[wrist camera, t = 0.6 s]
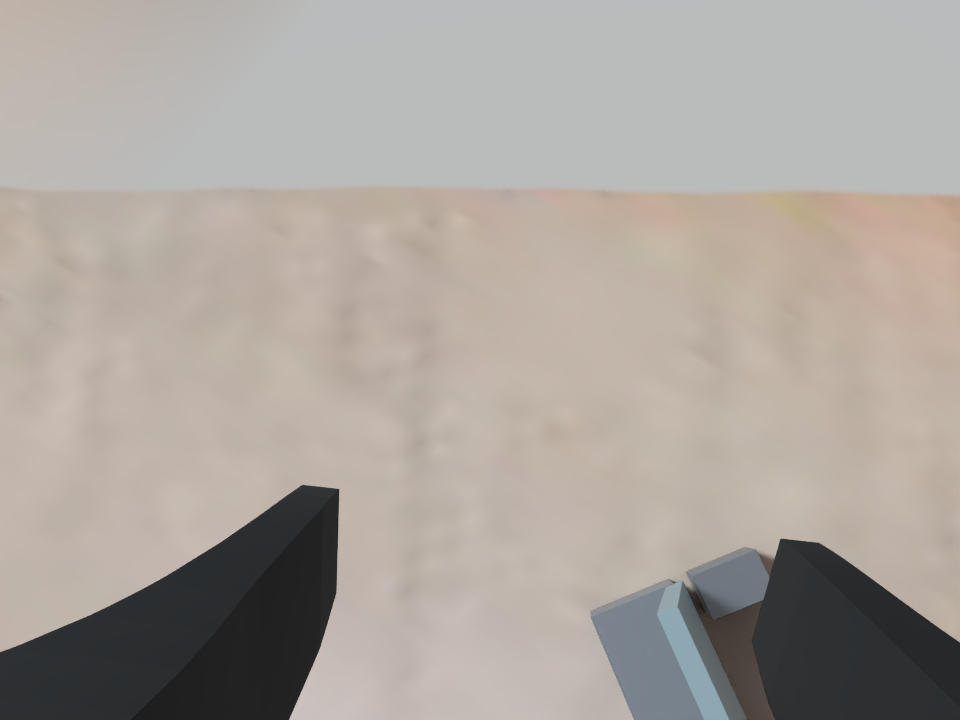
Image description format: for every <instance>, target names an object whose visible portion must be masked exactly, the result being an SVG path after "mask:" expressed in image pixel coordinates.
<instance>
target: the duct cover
mask: <svg viewBox="0 0 960 720" xmlns="http://www.w3.org/2000/svg"><path fill="white" fill-rule="evenodd" d="M657 616H658V618H659V620H660V622H661V625H662V627H663V629H664V631H665V633H666V636H667V638H668V640H669V642H670V645H671V647H672V649H673V651H674V654H675V656H676V658H677V660H678V662H679V665H680V667H681V669H682V671H683V674H684V676H685V678H686V680H687V683H688V685H689V687H690V689H691V691H692V694H693V696H694V698H695V700H696V703H697V705H698V707H699V709H700V711H701V714H702V716H703V718H704V720H747V718H746V716H745V714H744V712H743V709H742V707H741V705H740V703H739V701H738V699H737V697H736V694H735V692H734V690H733V688H732V686H731V684H730V681H729V679H728V677H727V675H726V673H725V671H724V669H723V666H722V664H721V662H720V660H719V658H718V656H717V653H716V651H715V649H714V647H713V645H712V643H711V641H710V638H709V636H708V634H707V632H706V630H705V628H704V625H703V623H702V621H701V619H700V617H699V615H698V612H697V610H696V608H695V606H694V604H693V602H692V600H691V597H690V595H689V593H688V591H687V589H686V587H685V584H684V582H683V580H682V581H680V582H677V583H674V584H672V585H669V586H667V587H666V588H665V591H664V594H663V597H662V600H661V603H660V606H659V609H658V612H657Z"/></svg>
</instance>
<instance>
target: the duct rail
mask: <svg viewBox="0 0 960 720" xmlns="http://www.w3.org/2000/svg"><path fill="white" fill-rule="evenodd" d="M686 573H687V575H688V577H689V579H690V582H691V584H692V586H693V588H694V590H695V592H696V594H697V597H698V599H699V601H700V603H701V605H702V607H703V609H704V612H705V613H706V614H707V615H708V616H709V617H710V618H712V619H713V620H715V619H718V618H720V617H723V616H725V615H727V614H730V613H732V612H735V611H737V610H740V609H742V608H745V607H747V606H749V605H752V604H754V603H757V602H759V601H762V600H763V599H764V596H765V592H766V589H767V585H768V582H769V578H770V577H769V575H768V573H767V571H766V569H765V567H764V565H763V563H762V561H761V559H760V557H759V555H758V553H757V551H756V549H751V548H746V547H744V548H742V549H740V550H737V551H735V552H732V553H730V554H728V555H725V556H723V557H720V558H718V559H716V560H713V561H711V562H708V563H706V564H704V565H701V566H699V567H696V568H694V569H691V570H689V571H687V572H686ZM672 584H674V583H673V582H671V581H670V580H669V579H667V580H665V581H663V582H660V583H658V584H655V585H653V586H650V587H648V588H646V589H643V590H641V591H638V592H636V593H634V594H631V595H629V596H626V597H624V598H622V599H619V600H617V601H614V602H612V603H610V604H607V605H605V606H602V607H600V608H597V609H595V610H593V611H591V619H592V621H593V624H594V626H595V628H596V631H597V633H598V635H599V638H600V640H601V643H602V645H603V647H604V650H605V652H606V654H607V657H608V659H609V661H610V664H611V666H612V668H613V671H614V673H615V676H616V678H617V680H618V683H619V685H620V687H621V690H622V692H623V694H624V697H625V699H626V702H627V704H628V706H629V709H630V711H631V713H632V716H633V718H634V720H704V718H703V716H702V714H701V711H700V709H699V707H698V705H697V703H696V700H695V698H694V696H693V694H692V691H691V689H690V687H689V685H688V683H687V680H686V678H685V676H684V674H683V671H682V669H681V667H680V665H679V662H678V660H677V658H676V656H675V654H674V651H673V649H672V647H671V645H670V642H669V640H668V638H667V636H666V633H665V631H664V629H663V627H662V625H661V622H660V620H659V618H658V616H657V612H658V609H659V606H660V603H661V600H662V597H663V594H664V591H665V588H666V587H667V586H669V585H672Z"/></svg>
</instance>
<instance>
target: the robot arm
mask: <svg viewBox="0 0 960 720" xmlns="http://www.w3.org/2000/svg"><path fill="white" fill-rule="evenodd" d="M338 513H339V489H334V488H325V487H316V486H307V485H302V486H300V487H299V488H297V489H296V490H294V491H293V492H291V493H290V494H289V495H287V496H286V497H285V498H283V499H282V500H280V501H279V502H278V503H276V504H275V505H273V506H272V507H271V508H269V509H268V510H267V511H265V512H264V513H262V514H261V515H260V516H258V517H257V518H255V519H254V520H252V521H251V522H250V523H248V524H247V525H245V526H244V527H242V528H241V529H239V530H238V531H237V532H235V533H234V534H232V535H231V536H229V537H228V538H226V539H225V540H224V541H222V542H221V543H219V544H217V545H216V546H214V547H213V548H211V549H209V550H208V551H206V552H205V553H203V554H201V555H200V556H198V557H197V558H195V559H193V560H192V561H190V562H188V563H187V564H185V565H184V566H182V567H180V568H179V569H177V570H176V571H174V572H172V573H171V574H169V575H167V576H166V577H164V578H162V579H160V580H159V581H157V582H155V583H153V584H151V585H149V586H148V587H146V588H144V589H142V590H140V591H138V592H136V593H134V594H132V595H130V596H128V597H126V598H124V599H122V600H120V601H119V602H117V603H115V604H113V605H111V606H109V607H107V608H105V609H102V610H100V611H98V612H96V613H94V614H92V615H90V616H87V617H85V618H83V619H80V620H78V621H76V622H73V623H71V624H68V625H66V626H64V627H61V628H59V629H57V630H54V631H52V632H50V633H47V634H45V635H43V636H40V637H38V638H35V639H33V640H31V641H28V642H26V643H24V644H21V645H19V646H16V647H13V648H11V649H8V650H5V651H3V652H0V720H289V718H290V716H291V714H292V712H293V709H294V707H295V705H296V702H297V700H298V698H299V696H300V693H301V691H302V689H303V686H304V684H305V682H306V679H307V677H308V675H309V672H310V670H311V668H312V666H313V663H314V661H315V658H316V656H317V654H318V651H319V649H320V646H321V643H322V639H323V636H324V633H325V630H326V626H327V623H328V620H329V616H330V613H331V609H332V606H333V602H334V599H335V595H336V585H337V549H338ZM752 643H753V647H754V651H755V655H756V659H757V663H758V667H759V671H760V675H761V678H762V682H763V685H764V689H765V692H766V696H767V699H768V702H769V705H770V707H771V710H772V712H773V715H774V717H775V720H960V643H959V642H958V641H957V640H955V639H954V638H952V637H951V636H949V635H948V634H947V633H945V632H944V631H942V630H941V629H940V628H938V627H937V626H935V625H934V624H933V623H931V622H930V621H928V620H927V619H926V618H924V617H923V616H921V615H920V614H919V613H917V612H916V611H915V610H913V609H912V608H910V607H909V606H908V605H906V604H905V603H904V602H902V601H901V600H900V599H898V598H897V597H895V596H894V595H893V594H891V593H890V592H889V591H887V590H886V589H885V588H883V587H882V586H881V585H879V584H878V583H876V582H875V581H874V580H872V579H871V578H870V577H868V576H867V575H866V574H864V573H863V572H861V571H860V570H859V569H857V568H856V567H854V566H853V565H852V564H850V563H849V562H847V561H846V560H845V559H843V558H842V557H840V556H839V555H837V554H836V553H834V552H833V551H831V550H830V549H828V548H826V547H825V546H823V545H821V544H820V543H815V542H806V541H797V540H788V539H780V543H779V546H778V550H777V553H776V557H775V560H774V564H773V567H772V571H771V575H770V578H769V582H768V585H767V589H766V592H765V596H764V599H763V603H762V606H761V610H760V614H759V617H758V621H757V624H756V628H755V631H754V635H753V638H752Z"/></svg>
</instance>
